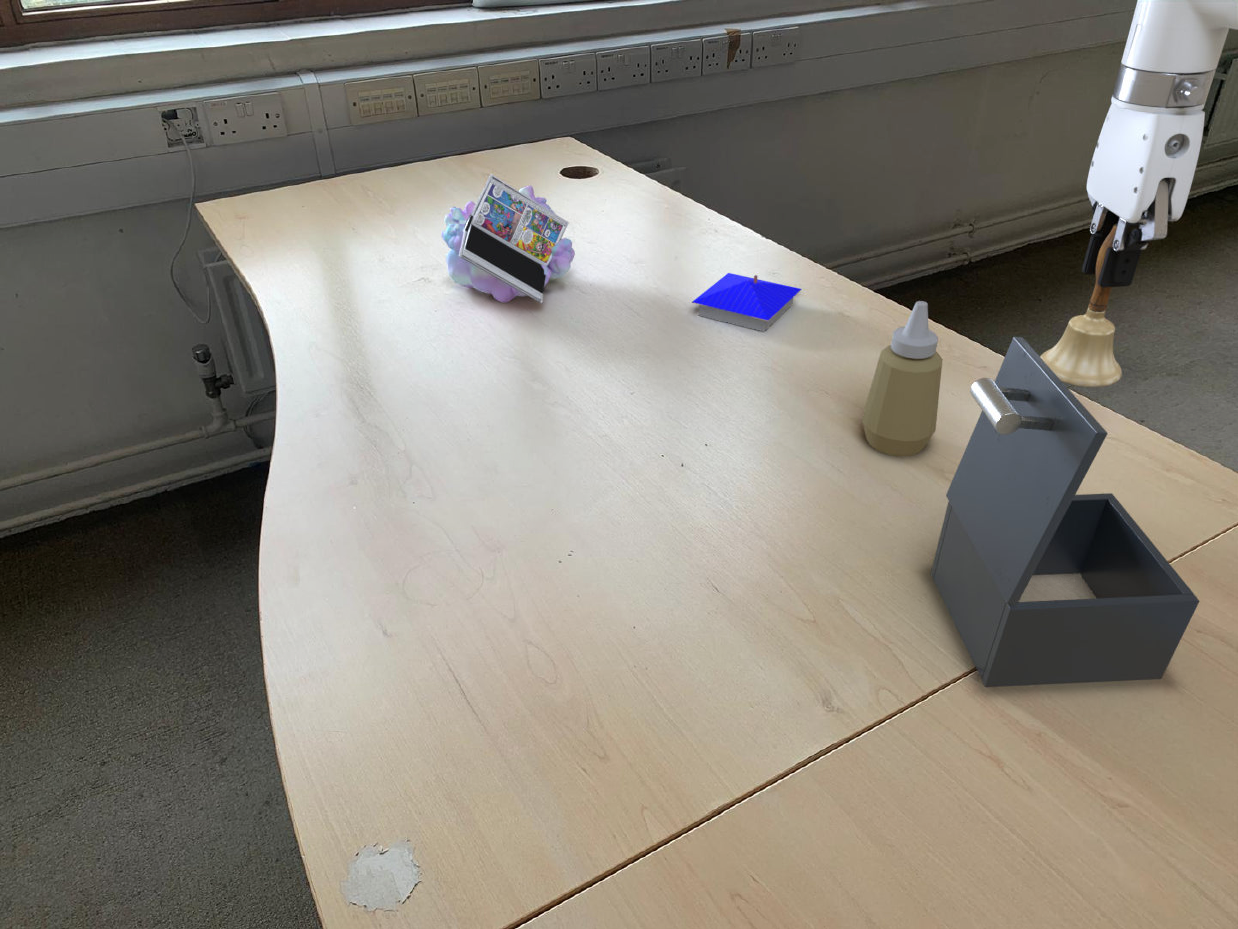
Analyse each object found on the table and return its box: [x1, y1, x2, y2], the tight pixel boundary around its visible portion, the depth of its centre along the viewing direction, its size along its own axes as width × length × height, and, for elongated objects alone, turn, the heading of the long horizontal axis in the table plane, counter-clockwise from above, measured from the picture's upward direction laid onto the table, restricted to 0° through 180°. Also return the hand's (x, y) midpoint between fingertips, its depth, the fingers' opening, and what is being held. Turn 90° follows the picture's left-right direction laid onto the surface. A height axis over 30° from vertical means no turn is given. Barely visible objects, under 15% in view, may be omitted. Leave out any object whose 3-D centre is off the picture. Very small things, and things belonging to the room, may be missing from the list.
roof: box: [691, 272, 802, 332], centre depth 131 cm, size 12×12×5 cm
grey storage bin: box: [930, 492, 1200, 688], centre depth 76 cm, size 15×14×10 cm
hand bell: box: [1039, 224, 1123, 388], centre depth 93 cm, size 8×8×16 cm
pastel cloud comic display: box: [440, 173, 576, 304], centre depth 137 cm, size 20×22×18 cm
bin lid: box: [945, 336, 1108, 605], centre depth 68 cm, size 16×14×5 cm
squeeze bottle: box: [861, 300, 943, 457], centre depth 98 cm, size 8×8×18 cm
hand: (1105, 277), depth 91 cm, fingers closed on hand bell, 2 cm apart
